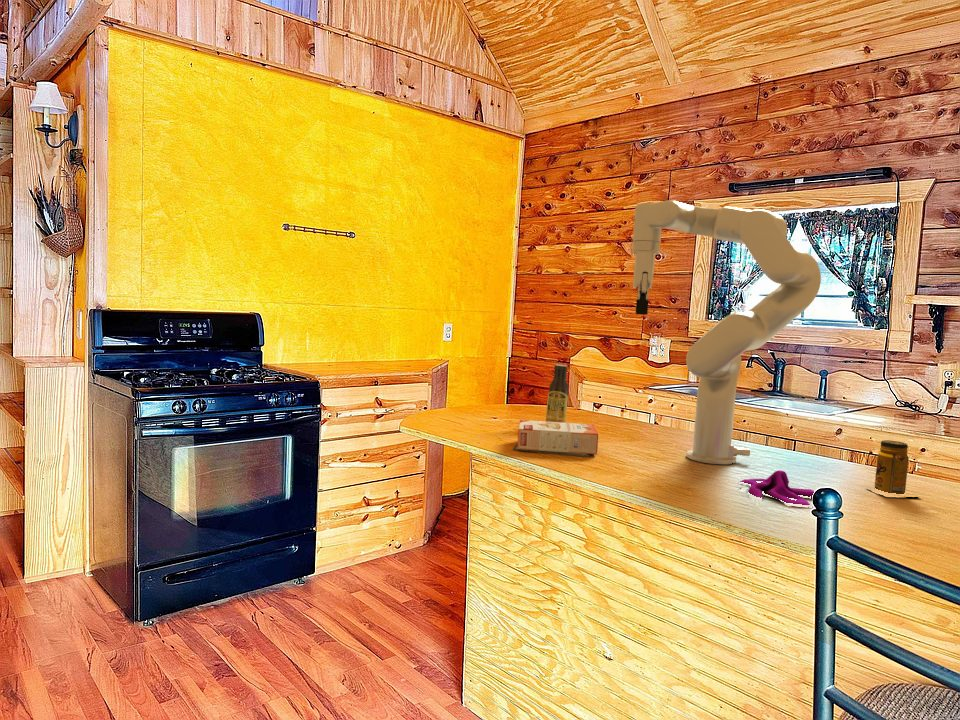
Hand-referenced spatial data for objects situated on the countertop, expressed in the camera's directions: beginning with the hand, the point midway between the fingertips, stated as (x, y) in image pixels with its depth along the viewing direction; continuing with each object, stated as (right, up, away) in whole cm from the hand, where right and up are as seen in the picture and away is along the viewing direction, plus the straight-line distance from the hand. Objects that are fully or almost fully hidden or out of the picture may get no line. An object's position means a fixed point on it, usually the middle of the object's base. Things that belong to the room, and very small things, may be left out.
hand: (641, 314), depth 195 cm
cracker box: (-14, -34, -9) cm, 38 cm away
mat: (-25, -37, -6) cm, 45 cm away
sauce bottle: (-22, -34, +21) cm, 46 cm away
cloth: (+19, -43, -44) cm, 64 cm away
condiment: (+48, -44, -38) cm, 75 cm away
